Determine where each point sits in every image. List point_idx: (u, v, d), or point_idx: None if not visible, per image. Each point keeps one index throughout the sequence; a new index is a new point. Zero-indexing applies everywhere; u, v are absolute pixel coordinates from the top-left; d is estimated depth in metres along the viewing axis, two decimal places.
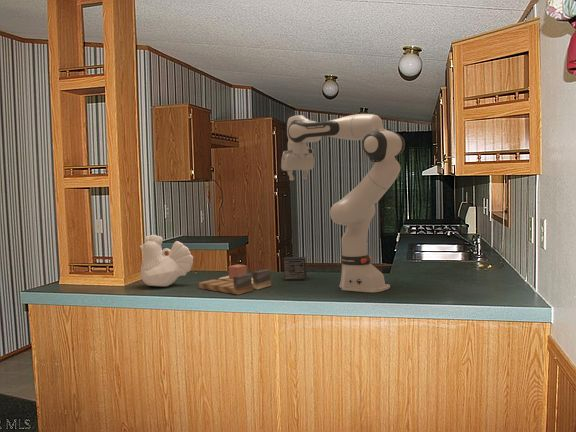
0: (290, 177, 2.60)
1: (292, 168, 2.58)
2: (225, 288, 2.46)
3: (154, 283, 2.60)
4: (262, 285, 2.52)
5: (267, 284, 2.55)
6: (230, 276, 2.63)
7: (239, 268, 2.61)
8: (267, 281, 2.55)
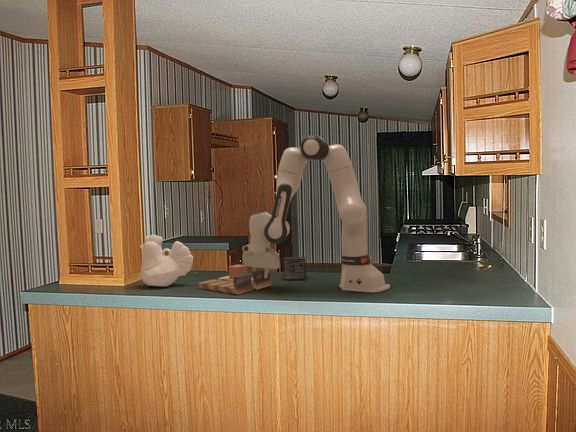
0: (266, 275, 2.52)
1: None
2: (225, 288, 2.46)
3: (154, 283, 2.60)
4: (262, 285, 2.52)
5: (267, 284, 2.55)
6: (230, 276, 2.63)
7: (239, 268, 2.61)
8: (267, 281, 2.55)
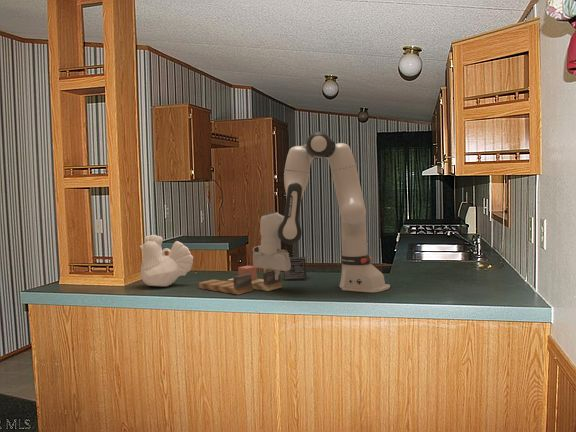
0: (276, 276, 2.48)
1: None
2: (225, 288, 2.46)
3: (154, 283, 2.60)
4: (272, 287, 2.48)
5: (278, 286, 2.51)
6: None
7: (249, 269, 2.56)
8: (278, 282, 2.51)
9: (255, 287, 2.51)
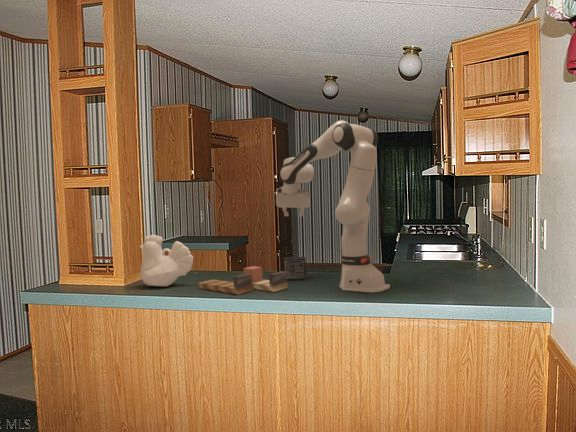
0: (301, 214, 2.81)
1: None
2: (225, 288, 2.46)
3: (154, 283, 2.60)
4: (278, 288, 2.46)
5: (283, 286, 2.48)
6: None
7: (254, 270, 2.54)
8: (283, 283, 2.48)
9: (261, 288, 2.48)
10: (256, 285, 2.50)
